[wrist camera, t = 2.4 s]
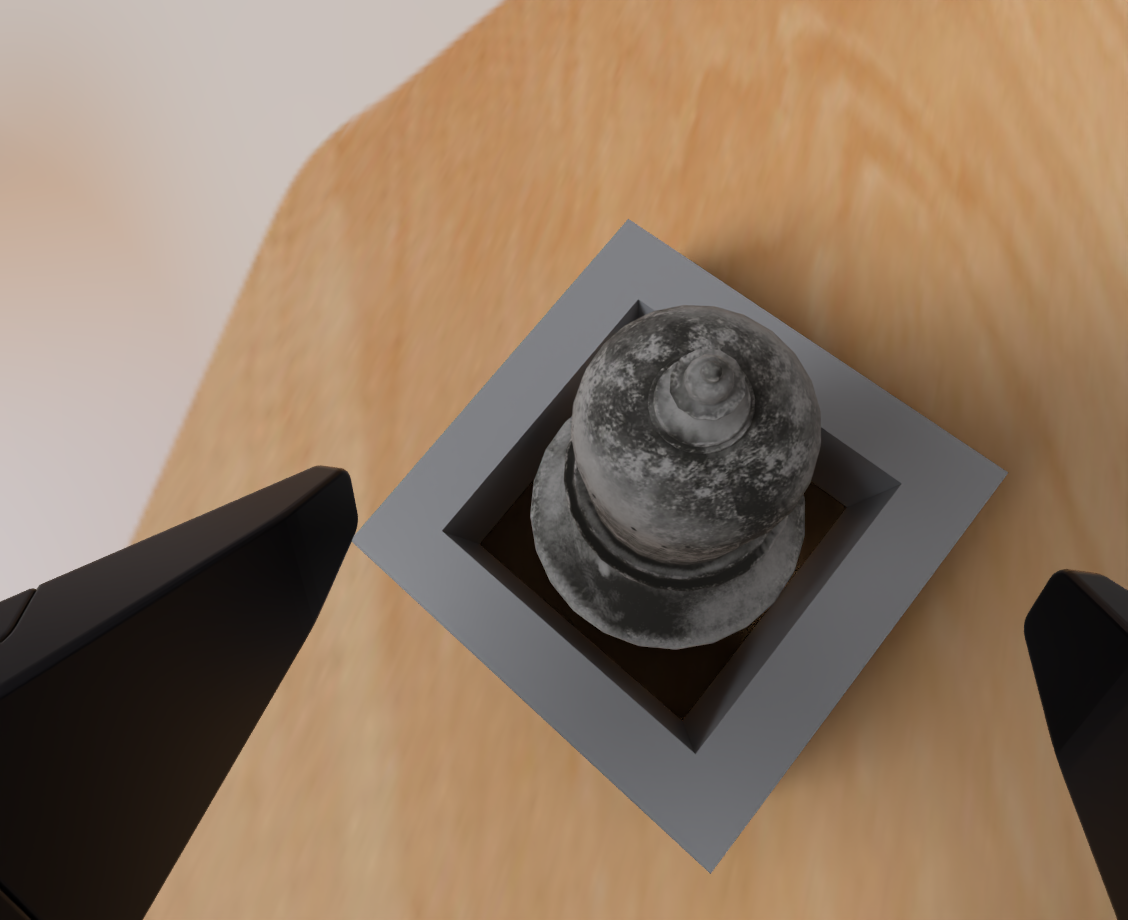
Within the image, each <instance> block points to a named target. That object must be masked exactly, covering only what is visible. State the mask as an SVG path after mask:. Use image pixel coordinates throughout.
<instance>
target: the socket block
mask: <svg viewBox="0 0 1128 920" xmlns="http://www.w3.org/2000/svg"><path fill="white" fill-rule="evenodd" d="M681 305H695V306H715V307H719V308H722V309H726V310H729V311H733V312H736V313H739V314H743V315H745V316H747V317H749V318H751V319H752V320H754V321H756V322H758V323H759V324H761V325H763V326H765V327H766V328H768V329H770V330H771V331H773V332H774V333H775V334H776V335H777V336H778V337H779V338H780V339H781V340H782V341H783V342H784V343H785V344H786V345H787V346H788V347H789V348H790V349H791V350H792V351H793V352H794V353H795V354H796V356H797V357H798V359H799V360H800V362H801V364H802V365H803V367H804V369H805V370H806V372H807V374H808V375H809V377H810V379H811V380H812V383H813V387H814V390H815V394H816V397H817V401H818V404H819V407H820V411H821V446H820V451H819V454H818V458H817V461H816V465H815V469H814V472H813V476H812V479H811V482H813V483H814V484H815V485H817V486H818V487H820V488H821V489H822V490H824V491H825V492H826V493H828V494H829V495H831V496H832V497H833V498H835V499H836V500H837V501H839V502H840V503H842V504H843V505H844V506H846V507H847V508H846V509H845V510H844V512H843V513H842V514H841V516H840V517H839V518H838V519H837V521H836V522H835V523H834V525H833V526H832V527H831V529H830V530H829V531H828V532H827V534H826V535H825V536H824V538H823V539H822V540H821V542H820V543H819V544H818V545H817V547H816V548H815V549H814V551H813V552H812V553H811V555H810V556H809V557H808V558H807V560H806V561H805V562H804V564H803V565H802V566H801V568H800V569H799V570H798V571H797V573H796V574H795V575H794V577H793V578H792V579H791V580H790V582H789V583H788V584H787V586H786V587H785V588H784V590H783V591H782V592H781V593H780V595H779V596H778V598H777V600H776V601H775V603H773V604H772V605H771V606H770V608H769V609H768V610H767V612H766V613H765V614H764V616H763V617H762V618H761V619H760V621H759V622H758V623H757V625H756V626H755V627H754V629H753V630H752V631H751V632H750V634H749V635H748V636H747V638H746V639H745V640H744V642H743V643H742V644H741V645H740V647H739V648H738V649H737V651H736V652H735V653H734V655H733V656H732V657H731V658H730V660H729V661H728V662H727V664H726V665H725V666H724V667H723V669H722V670H721V671H720V673H719V674H718V675H717V677H716V678H715V679H714V680H713V682H712V683H711V684H710V686H709V687H708V688H707V690H706V691H705V692H704V693H703V695H702V696H701V697H700V699H699V700H698V701H697V703H696V704H695V705H694V706H693V708H692V709H691V710H690V712H689V713H688V714H687V716H686V717H685V718H684V719H683V721H682V720H681V719H680V718H678V717H677V716H676V715H675V714H674V713H673V712H671V711H670V710H669V709H668V708H667V707H666V706H665V705H663V704H662V703H661V702H660V701H659V700H658V699H657V698H655V697H654V696H653V695H652V694H651V693H650V692H649V691H647V690H646V689H645V688H644V687H643V686H642V685H640V684H639V683H638V682H637V681H636V680H635V679H634V678H632V677H631V676H630V675H629V674H628V673H627V672H626V671H624V670H623V669H622V668H621V667H620V666H619V665H618V664H616V663H615V662H614V661H613V660H612V659H611V658H610V657H608V656H607V655H606V654H605V653H604V652H603V651H601V650H600V649H599V648H598V647H597V646H596V645H595V644H593V643H592V642H591V641H590V640H589V639H588V638H587V637H585V636H584V635H583V634H582V633H581V632H580V631H579V630H577V629H576V628H575V627H574V626H573V625H572V624H570V623H569V622H568V621H567V620H566V619H565V618H564V617H562V616H561V615H560V614H559V613H558V612H557V611H556V610H554V609H553V608H552V607H551V606H550V605H549V604H548V603H546V602H545V601H544V600H543V599H542V598H541V597H539V596H538V595H537V594H536V593H535V592H534V591H533V590H531V589H530V588H529V587H528V586H527V585H526V584H525V583H523V582H522V581H521V580H520V579H519V578H518V577H517V576H515V575H514V574H513V573H512V572H511V571H510V570H508V569H507V568H506V567H505V566H504V565H503V564H502V563H500V562H499V561H498V560H497V559H496V558H495V557H494V556H492V555H491V554H490V553H489V552H488V551H487V550H486V549H484V548H483V547H482V546H481V545H480V543H481V542H482V540H483V539H484V538H485V537H486V536H487V534H488V533H489V532H490V531H491V530H492V529H493V527H494V526H495V525H496V524H497V523H498V521H499V520H500V519H501V518H502V517H503V515H504V514H505V513H506V512H507V511H508V509H509V508H510V507H511V506H512V505H513V503H514V502H515V501H516V500H517V499H518V498H519V496H520V495H521V494H522V493H523V492H524V490H525V489H526V488H527V487H528V486H529V484H530V483H531V482H532V481H533V480H534V478H535V477H536V474H537V471H538V469H539V466H540V463H541V461H542V458H543V455H544V452H545V450H546V448H547V447H548V446H549V444H550V443H551V441H552V440H553V438H554V437H555V436H556V434H557V433H558V431H559V430H560V429H561V427H562V426H563V424H564V423H565V422H566V421H567V420H568V419H569V418H571V417H572V413H573V403H574V400H575V397H576V394H577V392H578V389H579V386H580V383H581V380H582V378H583V375H584V373H585V370H586V368H587V367H588V365H589V364H590V363H591V361H592V360H593V358H594V357H595V355H596V354H597V352H598V351H599V350H600V348H601V347H602V345H603V344H604V343H605V342H606V341H607V340H609V339H610V338H611V337H612V336H613V335H614V334H616V333H617V332H618V331H619V330H620V329H621V328H623V327H624V326H625V325H626V324H628V323H630V322H632V321H634V320H636V319H638V318H641V317H643V316H645V315H647V314H649V313H651V312H653V311H657V310H662V309H667V308H671V307H676V306H681ZM1007 474H1008V472H1007V471H1005V470H1004V469H1002V468H1001V467H999V466H998V465H996V464H995V463H993V462H992V461H990V460H989V459H987V458H986V457H984V456H983V455H981V454H980V453H978V452H977V451H975V450H974V449H972V448H971V447H969V446H968V445H966V444H965V443H963V442H962V441H960V440H959V439H957V438H956V437H954V436H953V435H951V434H950V433H948V432H947V431H945V430H944V429H942V428H941V427H939V426H938V425H936V424H935V423H933V422H932V421H930V420H929V419H927V418H926V417H924V416H923V415H921V414H920V413H918V412H917V411H915V410H914V409H912V408H911V407H909V406H908V405H906V404H905V403H903V402H902V401H900V400H899V399H897V398H896V397H894V396H893V395H891V394H890V393H888V392H887V391H885V390H884V389H882V388H881V387H879V386H878V385H876V384H875V383H873V382H872V381H870V380H869V379H867V378H866V377H864V376H863V375H861V374H860V373H858V372H857V371H855V370H854V369H852V368H851V367H849V366H848V365H846V364H845V363H843V362H842V361H840V360H839V359H837V358H836V357H834V356H833V355H831V354H830V353H828V352H827V351H825V350H824V349H822V348H821V347H819V346H818V345H816V344H815V343H813V342H812V341H810V340H809V339H807V338H806V337H804V336H803V335H801V334H800V333H798V332H797V331H795V330H794V329H792V328H791V327H789V326H788V325H786V324H785V323H783V322H782V321H780V320H779V319H777V318H776V317H774V316H773V315H771V314H770V313H768V312H767V311H765V310H764V309H762V308H761V307H759V306H758V305H756V304H755V303H753V302H752V301H750V300H749V299H747V298H746V297H744V296H743V295H741V294H740V293H738V292H737V291H735V290H734V289H732V288H731V287H729V286H728V285H726V284H725V283H723V282H722V281H720V280H719V279H717V278H716V277H714V276H713V275H711V274H710V273H709V272H707V271H706V270H704V269H703V268H701V267H700V266H698V265H697V264H695V263H694V262H692V261H691V260H689V259H688V258H686V257H685V256H683V255H682V254H680V253H679V252H677V251H676V250H674V249H673V248H671V247H670V246H668V245H667V244H665V243H664V242H662V241H661V240H659V239H658V238H656V237H655V236H653V235H652V234H650V233H649V232H647V231H646V230H644V229H643V228H641V227H640V226H638V225H637V224H635V223H634V222H632V221H631V220H629V219H628V220H627V221H626V222H625V223H624V225H623V226H622V227H621V228H620V229H619V230H618V231H617V233H616V234H615V235H614V236H613V237H612V238H611V240H610V241H609V242H608V243H607V244H606V245H605V247H604V248H603V249H602V250H601V251H600V252H599V253H598V255H597V256H596V257H595V258H594V259H593V260H592V262H591V263H590V264H589V265H588V266H587V267H586V268H585V270H584V271H583V272H582V273H581V274H580V275H579V277H578V278H577V279H576V280H575V281H574V282H573V284H572V285H571V286H570V287H569V288H568V289H567V290H566V292H565V293H564V294H563V295H562V296H561V297H560V299H559V300H558V301H557V302H556V303H555V304H554V305H553V307H552V308H551V309H550V310H549V311H548V312H547V314H546V315H545V316H544V317H543V318H542V319H541V321H540V322H539V323H538V324H537V325H536V326H535V327H534V329H533V330H532V331H531V332H530V333H529V334H528V336H527V337H526V338H525V339H524V340H523V341H522V342H521V344H520V345H519V346H518V347H517V348H516V349H515V351H514V352H513V353H512V354H511V355H510V356H509V358H508V359H507V360H506V361H505V362H504V363H503V364H502V366H501V367H500V368H499V369H498V370H497V371H496V373H495V374H494V375H493V376H492V377H491V378H490V379H489V381H488V382H487V383H486V384H485V385H484V386H483V388H482V389H481V390H480V391H479V392H478V393H477V394H476V396H475V397H474V398H473V399H472V400H471V401H470V403H469V404H468V405H467V406H466V407H465V408H464V410H463V411H462V412H461V413H460V414H459V415H458V416H457V418H456V419H455V420H454V421H453V422H452V423H451V425H450V426H449V427H448V428H447V429H446V430H445V431H444V433H443V434H442V435H441V436H440V437H439V438H438V440H437V441H436V442H435V443H434V444H433V445H432V447H431V448H430V449H429V450H428V451H427V452H426V453H425V455H424V456H423V457H422V458H421V459H420V460H419V462H418V463H417V464H416V465H415V466H414V467H413V468H412V470H411V471H410V472H409V473H408V474H407V475H406V477H405V478H404V479H403V480H402V481H401V482H400V484H399V485H398V486H397V487H396V488H395V489H394V490H393V492H392V493H391V494H390V495H389V496H388V497H387V499H386V500H385V501H384V502H383V503H382V504H381V505H380V507H379V508H378V509H377V510H376V511H375V512H374V514H373V515H372V516H371V517H370V518H369V519H368V521H367V522H366V523H365V524H364V525H363V526H362V527H361V529H360V530H359V531H358V532H357V533H356V534H355V536H354V537H353V539H352V542H353V543H354V544H355V545H356V546H357V547H358V548H359V549H360V550H362V551H363V552H364V553H365V554H366V555H367V556H368V557H369V558H370V559H371V560H372V561H373V562H374V563H376V564H377V565H378V566H379V567H380V568H381V569H382V570H383V571H384V572H385V573H386V574H387V575H389V576H390V577H391V578H392V579H393V580H394V581H395V582H396V583H397V584H398V585H399V586H400V587H401V588H403V589H404V590H405V591H406V592H407V593H408V594H409V595H410V596H411V597H412V598H413V599H414V600H416V601H417V602H418V603H419V604H420V605H421V606H422V607H423V608H424V609H425V610H426V611H427V612H428V613H430V614H431V615H432V616H433V617H434V618H435V619H436V620H437V621H438V622H439V623H440V624H441V625H442V626H444V627H445V628H446V629H447V630H448V631H449V632H450V633H451V634H452V635H453V636H454V637H455V638H457V639H458V640H459V641H460V642H461V643H462V644H463V645H464V646H465V647H466V648H467V649H468V650H469V651H471V652H472V653H473V654H474V655H475V656H476V657H477V658H478V659H479V660H480V661H481V662H482V663H484V664H485V665H486V666H487V667H488V668H489V669H490V670H491V671H492V672H493V673H494V674H495V675H496V676H498V677H499V678H500V679H501V680H502V681H503V682H504V683H505V684H506V685H507V686H508V687H509V688H510V689H512V690H513V691H514V692H515V693H516V694H517V695H518V696H519V697H520V698H521V699H522V700H523V701H525V702H526V703H527V704H528V705H529V706H530V707H531V708H532V709H533V710H534V711H535V712H536V713H537V714H539V715H540V716H541V717H542V718H543V719H544V720H545V721H546V722H547V723H548V724H549V725H550V726H552V727H553V728H554V729H555V730H556V731H557V732H558V733H559V734H560V735H561V736H562V737H563V738H564V739H566V740H567V741H568V742H569V743H570V744H571V745H572V746H573V747H574V748H575V749H576V750H577V751H578V752H580V753H581V754H582V755H583V756H584V757H585V758H586V759H587V760H588V761H589V762H590V763H591V764H593V765H594V766H595V767H596V768H597V769H598V770H599V771H600V772H601V773H602V774H603V775H604V776H605V777H607V778H608V779H609V780H610V781H611V782H612V783H613V784H614V785H615V786H616V787H617V788H618V789H620V790H621V791H622V792H623V793H624V794H625V795H626V796H627V797H628V798H629V799H630V800H631V801H632V802H634V803H635V804H636V805H637V806H638V807H639V808H640V809H641V810H642V811H643V812H644V813H645V814H646V815H648V816H649V817H650V818H651V819H652V820H653V821H654V822H655V823H656V824H657V825H658V826H659V827H661V828H662V829H663V830H664V831H665V832H666V833H667V834H668V835H669V836H670V837H671V838H672V839H673V840H675V841H676V842H677V843H678V844H679V845H680V846H681V847H682V848H683V849H684V850H685V851H686V852H688V853H689V854H690V855H691V856H692V857H693V858H694V859H695V860H696V861H697V862H698V863H699V864H700V865H702V866H703V867H704V868H705V869H706V870H707V871H708V872H709V873H710V874H711V872H712V871H713V870H714V868H715V867H716V866H717V864H718V863H719V862H720V860H721V859H722V858H723V856H724V855H725V854H726V852H727V851H728V850H729V848H730V847H731V846H732V844H733V843H734V841H735V840H736V839H737V837H738V836H739V835H740V833H741V832H742V831H743V829H744V828H745V827H746V825H747V824H748V823H749V821H750V820H751V819H752V817H753V816H754V815H755V813H756V812H757V811H758V809H759V808H760V806H761V805H762V804H763V802H764V801H765V800H766V798H767V797H768V796H769V794H770V793H771V792H772V790H773V789H774V788H775V786H776V785H777V784H778V782H779V781H780V780H781V778H782V777H783V776H784V774H785V773H786V771H787V770H788V769H789V767H790V766H791V765H792V763H793V762H794V761H795V759H796V758H797V757H798V755H799V754H800V753H801V751H802V750H803V749H804V747H805V746H806V745H807V743H808V742H809V740H810V739H811V738H812V736H813V735H814V734H815V732H816V731H817V730H818V728H819V727H820V726H821V724H822V723H823V722H824V720H825V719H826V718H827V716H828V715H829V714H830V712H831V711H832V710H833V708H834V707H835V705H836V704H837V703H838V701H839V700H840V699H841V697H842V696H843V695H844V693H845V692H846V691H847V689H848V688H849V687H850V685H851V684H852V683H853V681H854V680H855V679H856V677H857V676H858V675H859V673H860V672H861V670H862V669H863V668H864V666H865V665H866V664H867V662H868V661H869V660H870V658H871V657H872V656H873V654H874V653H875V652H876V650H877V649H878V648H879V646H880V645H881V644H882V642H883V641H884V639H885V638H886V637H887V635H888V634H889V633H890V631H891V630H892V629H893V627H894V626H895V625H896V623H897V622H898V621H899V619H900V618H901V617H902V615H903V614H904V613H905V611H906V610H907V609H908V607H909V606H910V604H911V603H912V602H913V600H914V599H915V598H916V596H917V595H918V594H919V592H920V591H921V590H922V588H923V587H924V586H925V584H926V583H927V582H928V580H929V579H930V578H931V576H932V575H933V574H934V572H935V571H936V569H937V568H938V567H939V565H940V564H941V563H942V561H943V560H944V559H945V557H946V556H947V555H948V553H949V552H950V551H951V549H952V548H953V547H954V545H955V544H956V543H957V541H958V540H959V539H960V537H961V536H962V534H963V533H964V532H965V530H966V529H967V528H968V526H969V525H970V524H971V522H972V521H973V520H974V518H975V517H976V516H977V514H978V513H979V512H980V510H981V509H982V508H983V506H984V505H985V503H986V502H987V501H988V499H989V498H990V497H991V495H992V494H993V493H994V491H995V490H996V489H997V487H998V486H999V485H1000V483H1001V482H1002V481H1003V479H1004V478H1005V477H1006V475H1007Z"/></svg>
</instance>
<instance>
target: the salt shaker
mask: <svg viewBox="0 0 1128 920" xmlns="http://www.w3.org/2000/svg"><path fill="white" fill-rule="evenodd" d="M820 446H821V411H820V407H819V404H818V401H817V397H816V394H815V390H814V387H813V383H812V380H811V379H810V377H809V375H808V374H807V372H806V370H805V369H804V367H803V365H802V364H801V362H800V360H799V359H798V357H797V356H796V354H795V353H794V352H793V351H792V350H791V349H790V348H789V347H788V346H787V345H786V344H785V343H784V342H783V341H782V340H781V339H780V338H779V337H778V336H777V335H776V334H775V333H774V332H773V331H771V330H770V329H768V328H766V327H765V326H763V325H761V324H759V323H758V322H756V321H754V320H752V319H751V318H749V317H747V316H745V315H743V314H739V313H736V312H733V311H729V310H726V309H722V308H719V307H715V306H695V305H681V306H676V307H671V308H667V309H662V310H657V311H653V312H651V313H649V314H647V315H645V316H643V317H641V318H638V319H636V320H634V321H632V322H630V323H628V324H626V325H625V326H624V327H623V328H621V329H620V330H619V331H618V332H617V333H616V334H614V335H613V336H612V337H611V338H610V339H609V340H607V341H606V342H605V343H604V344H603V345H602V347H601V348H600V350H599V351H598V352H597V354H596V355H595V357H594V358H593V360H592V361H591V363H590V364H589V365H588V367H587V368H586V370H585V373H584V375H583V378H582V380H581V383H580V386H579V389H578V392H577V394H576V397H575V400H574V403H573V413H572V417H571V418H569V419H568V420H567V421H566V422H565V423H564V424H563V426H562V427H561V429H560V430H559V431H558V433H557V434H556V436H555V437H554V438H553V440H552V441H551V443H550V444H549V446H548V447H547V448H546V450H545V452H544V455H543V458H542V461H541V463H540V466H539V469H538V471H537V474H536V477H535V479H534V483H533V493H532V503H531V513H530V517H531V523H532V529H533V536H534V542H535V548H536V552H537V554H538V556H539V558H540V560H541V563H542V565H543V567H544V569H545V572H546V574H547V576H548V578H549V580H550V583H551V584H552V585H553V586H554V588H555V589H556V590H557V591H558V593H559V594H560V595H561V596H562V597H563V599H564V600H565V601H566V602H567V604H568V605H569V606H570V607H571V608H572V610H573V611H574V612H576V613H577V614H578V615H580V616H581V617H583V618H584V619H585V620H587V621H588V622H589V623H591V624H592V625H594V626H595V627H596V628H598V629H599V630H601V631H602V632H603V633H606V634H608V635H611V636H614V637H616V638H619V639H622V640H624V641H627V642H629V643H632V644H635V645H637V646H644V647H654V648H664V649H675V650H677V649H683V648H688V647H694V646H700V645H706V644H711V643H715V642H717V641H719V640H721V639H723V638H725V637H727V636H729V635H731V634H733V633H735V632H738V631H740V630H742V629H744V628H746V627H747V626H749V625H750V624H751V623H752V622H753V621H754V620H755V619H756V618H758V617H759V616H760V615H761V614H762V613H763V612H764V611H765V610H767V609H768V608H769V607H770V606H771V605H772V604H773V603H775V601H776V600H777V598H778V596H779V595H780V593H781V592H782V590H783V588H784V587H785V585H786V584H787V582H788V581H789V579H790V577H791V576H792V574H793V573H794V571H795V568H796V564H797V561H798V557H799V554H800V550H801V547H802V544H803V540H804V537H805V498H804V492H805V491H806V489H807V488H808V486H809V484H810V483H811V479H812V476H813V472H814V469H815V465H816V461H817V458H818V454H819V451H820Z"/></svg>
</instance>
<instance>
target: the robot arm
mask: <svg viewBox="0 0 1128 920" xmlns="http://www.w3.org/2000/svg"><path fill="white" fill-rule="evenodd" d="M357 524H358V514H357V508H356V503H355V498H354V493H353V488H352V482H351V478H350V475H349V474H348V472H347V471H346V470H344V469H342V468H335V467H328V466H315V467H312V468H310V469H307V470H305V471H303V472H300V473H298V474H296V475H293V476H291V477H289V478H286V479H284V480H282V481H280V482H277V483H275V484H273V485H270V486H268V487H266V488H263V489H261V490H259V491H256V492H254V493H252V494H249V495H247V496H245V497H242V498H240V499H238V500H235V501H233V502H231V503H228V504H226V505H224V506H222V507H219V508H217V509H215V510H212V511H210V512H208V513H205V514H203V515H201V516H198V517H196V518H194V519H191V520H189V521H187V522H184V523H182V524H180V525H177V526H175V527H173V528H170V529H168V530H166V531H164V532H161V533H159V534H157V535H154V536H152V537H150V538H147V539H145V540H143V541H140V542H138V543H136V544H133V545H131V546H129V547H126V548H124V549H122V550H120V551H117V552H115V553H113V554H110V555H108V556H106V557H103V558H101V559H99V560H96V561H94V562H92V563H90V564H87V565H85V566H83V567H80V568H78V569H75V570H73V571H71V572H69V573H66V574H64V575H61V576H59V577H57V578H55V579H52V580H50V581H48V582H45V583H43V584H41V585H39V587H38V588H37V589H29V590H26V591H24V592H22V593H19V594H17V595H15V596H13V597H10V598H8V599H6V600H3V601H1V602H0V920H143V919H144V917H145V915H146V913H147V912H148V910H149V908H150V907H151V905H152V903H153V901H154V900H155V898H156V896H157V895H158V893H159V891H160V889H161V888H162V886H163V884H164V883H165V881H166V879H167V877H168V876H169V874H170V872H171V870H172V869H173V867H174V865H175V864H176V862H177V860H178V858H179V857H180V855H181V853H182V852H183V850H184V848H185V846H186V845H187V843H188V841H189V840H190V838H191V836H192V834H193V833H194V831H195V829H196V828H197V826H198V824H199V822H200V821H201V819H202V817H203V816H204V814H205V812H206V810H207V809H208V807H209V805H210V803H211V802H212V800H213V798H214V797H215V795H216V793H217V791H218V790H219V788H220V786H221V785H222V783H223V781H224V779H225V778H226V776H227V774H228V773H229V771H230V769H231V767H232V766H233V764H234V762H235V761H236V759H237V757H238V755H239V754H240V752H241V750H242V748H243V747H244V745H245V743H246V742H247V740H248V738H249V736H250V735H251V733H252V731H253V730H254V728H255V726H256V724H257V723H258V721H259V719H260V718H261V716H262V714H263V712H264V711H265V709H266V707H267V706H268V704H269V702H270V700H271V699H272V697H273V695H274V694H275V692H276V690H277V688H278V687H279V685H280V683H281V681H282V680H283V678H284V676H285V675H286V673H287V671H288V669H289V668H290V666H291V664H292V663H293V661H294V659H295V657H296V656H297V654H298V652H299V651H300V649H301V647H302V645H303V644H304V642H305V640H306V638H307V637H308V635H309V633H310V631H311V629H312V628H313V626H314V624H315V622H316V620H317V618H318V616H319V614H320V611H321V609H322V607H323V605H324V603H325V600H326V598H327V596H328V594H329V591H330V589H331V587H332V585H333V582H334V580H335V578H336V575H337V573H338V571H339V569H340V566H341V564H342V562H343V560H344V557H345V555H346V553H347V551H348V548H349V546H350V544H351V542H352V539H353V537H354V535H355V532H356V529H357ZM1024 635H1025V640H1026V644H1027V648H1028V652H1029V656H1030V660H1031V663H1032V667H1033V671H1034V675H1035V679H1036V683H1037V687H1038V691H1039V695H1040V699H1041V702H1042V706H1043V710H1044V714H1045V718H1046V722H1047V726H1048V730H1049V734H1050V737H1051V741H1052V744H1053V747H1054V751H1055V754H1056V757H1057V760H1058V763H1059V766H1060V769H1061V772H1062V774H1063V777H1064V780H1065V783H1066V785H1067V788H1068V790H1069V793H1070V796H1071V798H1072V801H1073V804H1074V806H1075V809H1076V812H1077V814H1078V817H1079V820H1080V822H1081V825H1082V827H1083V830H1084V833H1085V835H1086V838H1087V841H1088V843H1089V846H1090V849H1091V851H1092V854H1093V856H1094V859H1095V862H1096V864H1097V867H1098V870H1099V872H1100V875H1101V878H1102V880H1103V883H1104V886H1105V888H1106V891H1107V893H1108V896H1109V899H1110V901H1111V904H1112V907H1113V909H1114V912H1115V915H1116V917H1117V920H1128V591H1127V590H1126V589H1124V588H1123V587H1121V586H1120V585H1118V584H1116V583H1115V582H1113V581H1112V580H1110V579H1109V578H1107V577H1105V576H1103V575H1100V574H1097V573H1091V572H1084V571H1076V570H1069V569H1064V570H1059V571H1057V572H1056V573H1054V574H1053V575H1052V576H1051V578H1050V579H1049V581H1048V582H1047V584H1046V586H1045V587H1044V589H1043V590H1042V592H1041V594H1040V595H1039V597H1038V598H1037V600H1036V601H1035V603H1034V605H1033V606H1032V608H1031V609H1030V611H1029V613H1028V614H1027V617H1026V620H1025V624H1024Z"/></svg>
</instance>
